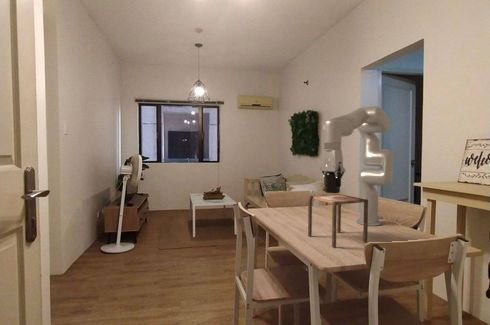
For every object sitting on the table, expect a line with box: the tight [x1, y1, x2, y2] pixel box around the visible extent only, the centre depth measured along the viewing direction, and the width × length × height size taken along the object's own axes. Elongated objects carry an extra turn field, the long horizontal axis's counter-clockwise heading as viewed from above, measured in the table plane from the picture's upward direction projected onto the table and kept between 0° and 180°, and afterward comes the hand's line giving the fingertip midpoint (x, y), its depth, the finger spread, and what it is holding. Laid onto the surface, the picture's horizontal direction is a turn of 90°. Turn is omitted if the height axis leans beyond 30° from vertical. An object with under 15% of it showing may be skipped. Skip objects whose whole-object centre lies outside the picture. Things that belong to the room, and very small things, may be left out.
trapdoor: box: [312, 194, 361, 204], centre depth 137 cm, size 16×15×1 cm
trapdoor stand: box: [307, 193, 369, 249], centre depth 138 cm, size 19×19×20 cm
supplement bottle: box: [324, 170, 341, 194], centre depth 136 cm, size 7×7×12 cm
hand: (332, 185), depth 136 cm, fingers closed on supplement bottle, 6 cm apart
